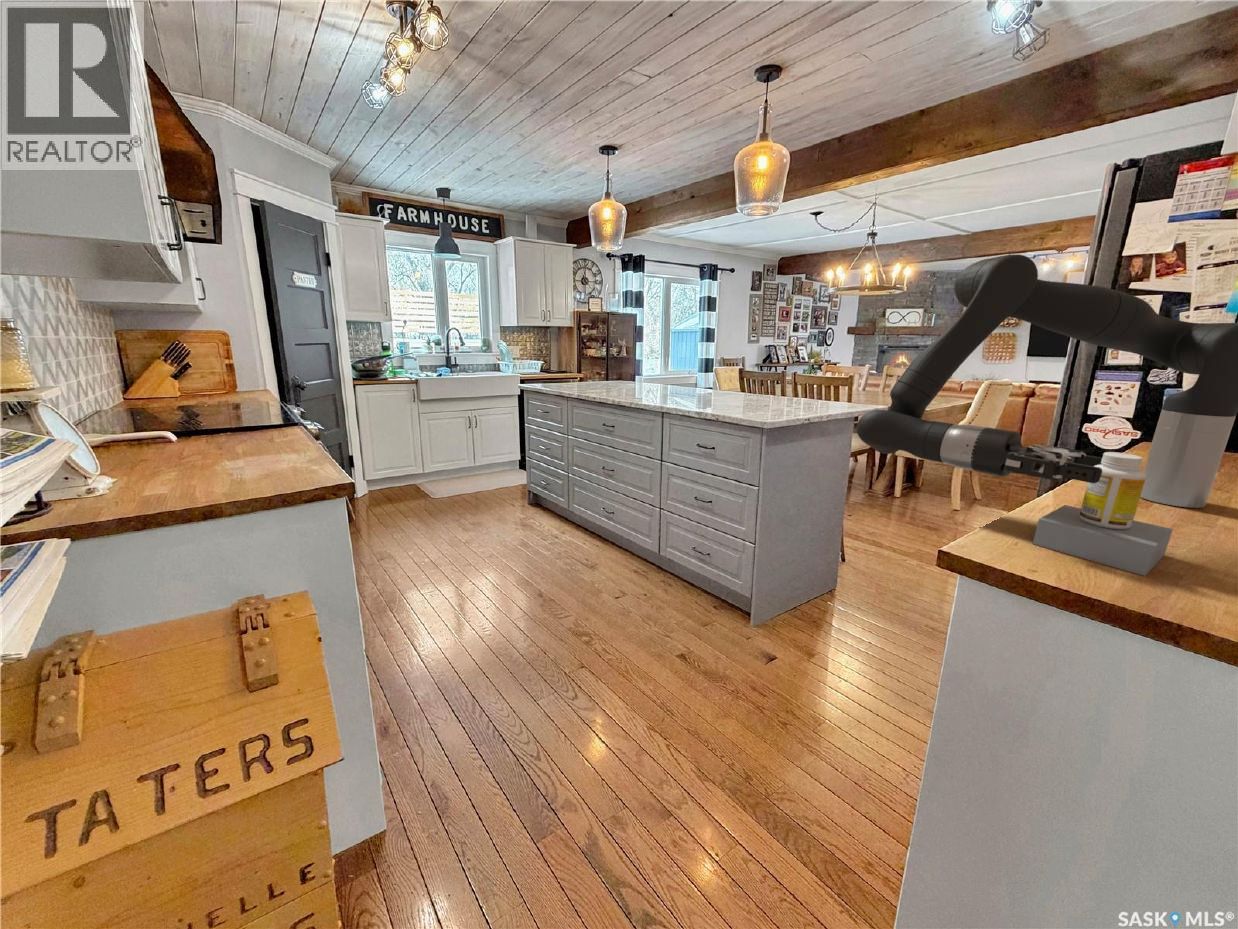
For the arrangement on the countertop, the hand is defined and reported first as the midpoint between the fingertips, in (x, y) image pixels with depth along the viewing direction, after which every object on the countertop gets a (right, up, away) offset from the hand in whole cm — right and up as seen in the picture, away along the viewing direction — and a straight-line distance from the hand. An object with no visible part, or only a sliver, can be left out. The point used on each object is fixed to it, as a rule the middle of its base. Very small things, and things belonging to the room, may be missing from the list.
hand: (1108, 471), depth 71 cm
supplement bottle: (0, -8, +1) cm, 8 cm away
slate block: (0, -11, +2) cm, 12 cm away
